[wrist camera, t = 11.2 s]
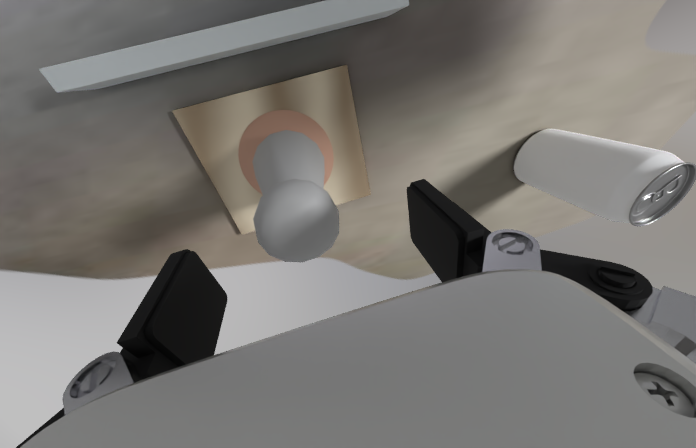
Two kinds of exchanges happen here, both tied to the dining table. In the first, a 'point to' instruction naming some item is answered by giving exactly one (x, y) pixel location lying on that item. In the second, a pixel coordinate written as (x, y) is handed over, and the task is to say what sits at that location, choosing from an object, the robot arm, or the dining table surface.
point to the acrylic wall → (214, 43)
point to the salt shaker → (293, 198)
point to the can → (605, 175)
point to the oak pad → (270, 117)
